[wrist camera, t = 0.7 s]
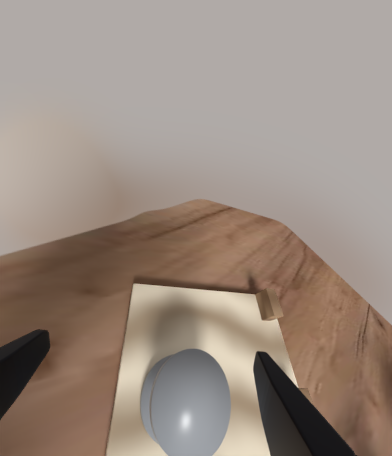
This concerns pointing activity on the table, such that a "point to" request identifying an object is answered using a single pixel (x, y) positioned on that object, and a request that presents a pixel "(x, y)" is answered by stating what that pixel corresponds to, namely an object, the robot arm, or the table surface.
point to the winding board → (204, 340)
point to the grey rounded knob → (186, 404)
